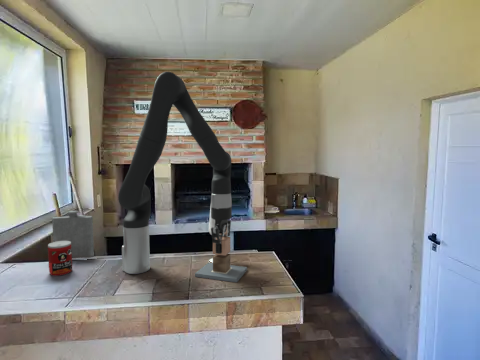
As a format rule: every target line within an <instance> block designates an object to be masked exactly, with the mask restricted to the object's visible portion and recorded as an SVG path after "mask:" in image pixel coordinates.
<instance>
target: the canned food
mask: <svg viewBox="0 0 480 360" xmlns="http://www.w3.org/2000/svg"><path fill="white" fill-rule="evenodd" d="M47 257H48V258H47V259H48V272H49V275H51V276H55V277H56V276H63V275H67V274H70V273H71V272H72V271H73V258H72V248H71V242H70V241H56V242H50V243H48V244H47Z"/></svg>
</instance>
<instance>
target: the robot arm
mask: <svg viewBox="0 0 480 360" xmlns="http://www.w3.org/2000/svg"><path fill="white" fill-rule="evenodd" d="M173 106H174V107H175V109H176V110H177V111H178V112H179V113H180V115H181V116H182V119H183V120H184V122H185V124H186V127H187V129H188V131H189V133H190V134H191V136H192V137H193V139H194V140H195V142H196V144H197V145H198V146H199V147H200V149H201V150H202V152H203V154H204V155H205V158H206V159H207V161H208V163H209V164H210V166H211V167H212V180H211V196H210V206H211V218H212V219H214V220H215V226H214V228H213V227H212V228H211V234H212V235H211V234H210V235H211V239H212V240H211V241H212V244H213V243H216V253H218V254H221V253H222V238H223V237H231V236H230V235H231V225H232V221H231V218H232V216H233V215H232V212H233V211H232V203H233V202H232V200H233V199H232V185H231V184H232V183H231V181H232V180H231V177H232V174H231V173H232V157H231V155H230V153H229V152H227V151H226V150H225V149H224V147H223V146H222V145H221V144H220V142H219V141H218V137H217V135H216V133H215V132H214V131H213V130H212V128H211V127H210V124H209V123H208V122H207V120H205V118H204V116H203V115H202V114H201V112H200V111H199V110H198V108H197V106H196V105H195V102H194V101H193V99H192V98H191V95H190V93H189V91H188V89H187V86H186V85H185V82H184V80H183V79H182V78H181V77H180V76H179V75H177V74H175V73H174V72H172V71H163V72H161V73H160V74H159V75H158V76H157V78H156V80H155V82H154V86H153V90H152V95H151V99H150V103H149V108H148V110H147V113H146V116H145V120H144V122H143V125H142V128H141V131H140V133H139V137H138V140H137V144H136V147H135V150H134V152H133V155H132V159H131V163H130V165H129V169H128V170H127V173H126V175H125V177H124V180H123V182H122V184H121V186H120V189H119V191H118V195H117V196H118V199H117V201H118V203H119V205H120V207H122V208H123V209H125V210H127V214H126V215H125V217H124V218H123V220H122V225H123V226H122V227H123V228H122V229H123V232H122V233H123V245H122V246H121V263H122V265H121V266H122V267H121V269H122V271H123V272H125V273H126V274H130V275H136V274H142V273H147V271H150V268H151V259H150V257H151V256H150V252H151V251H150V227H149V226H150V218H151V214H152V207H151V206H152V205H151V204H152V199H151V198H152V196H151V195H152V194H151V192H150V188H149V187H148V186H147V185H146V181H147V178H148V176H149V174H150V173H151V171H152V170H153V168H154V167H155V166H156V165H157V163H158V162H159V160H160V158H161V156H162V153H163V150H164V148H165V145H166V142H167V138H168V137H167V136H168V125H169V116H170V112H171V110H172V108H173ZM219 234H221V235H219Z"/></svg>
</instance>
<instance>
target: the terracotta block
mask: <svg viewBox="0 0 480 360" xmlns="http://www.w3.org/2000/svg"><path fill="white" fill-rule="evenodd" d="M230 252H231V236H228V237H223V238H222V253H221V254H218V253H216V243H213V242H212V254H213V255H215V254H216V255H225V256H226V255H227V254H230Z"/></svg>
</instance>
